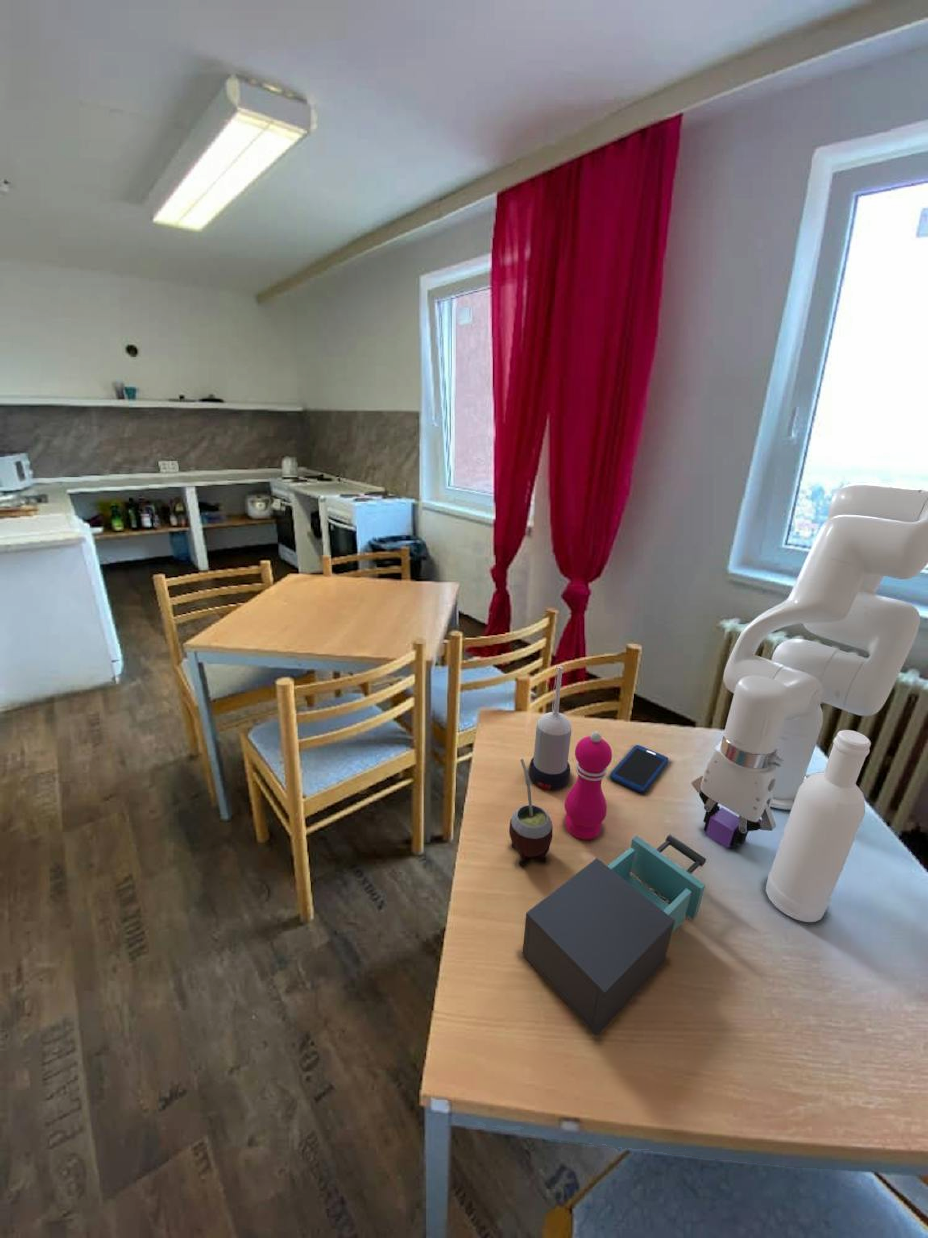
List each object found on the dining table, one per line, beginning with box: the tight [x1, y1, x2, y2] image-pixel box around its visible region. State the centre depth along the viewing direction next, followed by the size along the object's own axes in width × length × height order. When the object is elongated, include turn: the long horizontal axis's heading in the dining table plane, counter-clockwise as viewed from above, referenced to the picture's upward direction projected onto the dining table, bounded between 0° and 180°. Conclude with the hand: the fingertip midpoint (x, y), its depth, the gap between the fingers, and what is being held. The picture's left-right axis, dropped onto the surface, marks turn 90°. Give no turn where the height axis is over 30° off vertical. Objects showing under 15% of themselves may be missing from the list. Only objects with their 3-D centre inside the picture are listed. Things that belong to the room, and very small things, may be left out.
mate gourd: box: [508, 758, 554, 867], centre depth 84 cm, size 8×8×15 cm
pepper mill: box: [564, 731, 613, 841], centre depth 89 cm, size 7×7×20 cm
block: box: [705, 806, 739, 849], centre depth 90 cm, size 4×4×4 cm
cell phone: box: [609, 744, 669, 794], centre depth 107 cm, size 7×14×1 cm, turn 140°
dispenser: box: [521, 857, 675, 1037], centre depth 69 cm, size 15×13×8 cm
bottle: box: [765, 729, 872, 923], centre depth 74 cm, size 8×8×30 cm
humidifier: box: [528, 665, 572, 791], centre depth 100 cm, size 8×8×25 cm
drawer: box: [607, 834, 707, 934], centre depth 76 cm, size 19×11×6 cm, turn 129°
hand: (722, 834), depth 91 cm, fingers closed on block, 4 cm apart
